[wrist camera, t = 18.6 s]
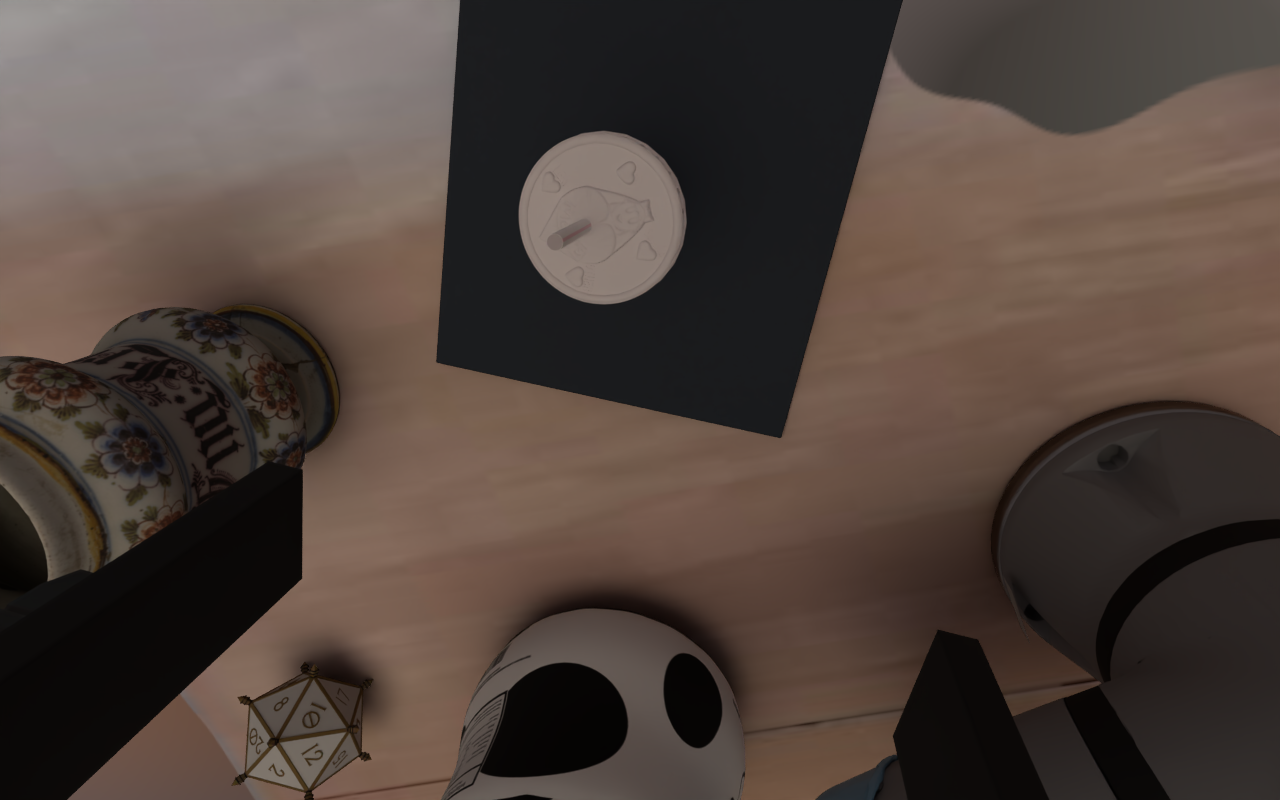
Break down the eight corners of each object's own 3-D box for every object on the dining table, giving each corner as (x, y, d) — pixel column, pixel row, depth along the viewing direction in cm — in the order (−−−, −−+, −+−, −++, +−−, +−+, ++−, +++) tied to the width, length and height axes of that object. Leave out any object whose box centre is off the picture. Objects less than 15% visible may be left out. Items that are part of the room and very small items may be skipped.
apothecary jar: (186, 252, 40) (-211, 336, 24) (377, 335, 40) (115, 476, 24) (164, 426, 45) (-180, 597, 28) (335, 499, 45) (92, 714, 28)
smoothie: (561, 150, 35) (447, 159, 22) (686, 116, 33) (644, 104, 20) (594, 275, 37) (508, 352, 24) (714, 248, 35) (692, 314, 22)
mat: (903, -11, 31) (906, -14, 30) (780, 434, 39) (781, 438, 38) (470, -85, 32) (465, -89, 32) (440, 359, 40) (435, 362, 40)
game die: (349, 663, 55) (219, 757, 49) (329, 607, 49) (178, 706, 43) (415, 748, 51) (282, 861, 45) (401, 698, 45) (246, 820, 39)
